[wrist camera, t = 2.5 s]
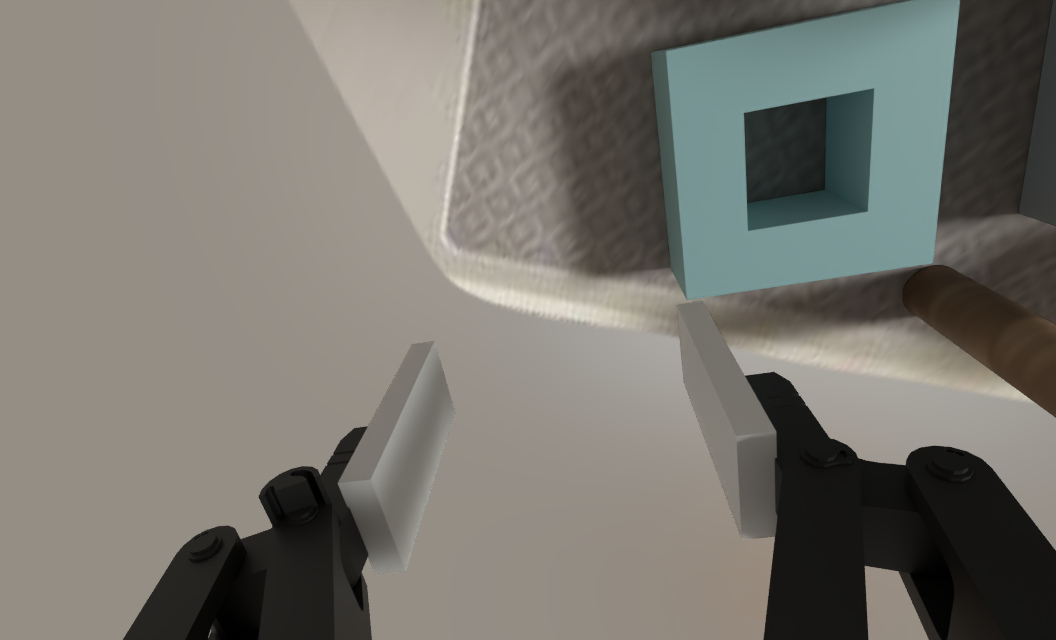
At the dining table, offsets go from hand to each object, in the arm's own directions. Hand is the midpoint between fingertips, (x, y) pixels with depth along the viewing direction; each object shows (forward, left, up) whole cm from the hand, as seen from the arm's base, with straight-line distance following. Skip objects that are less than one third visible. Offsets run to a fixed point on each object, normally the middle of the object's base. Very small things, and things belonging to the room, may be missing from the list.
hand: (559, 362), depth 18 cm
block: (-2, +12, -17) cm, 21 cm away
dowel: (+8, +21, -17) cm, 28 cm away
